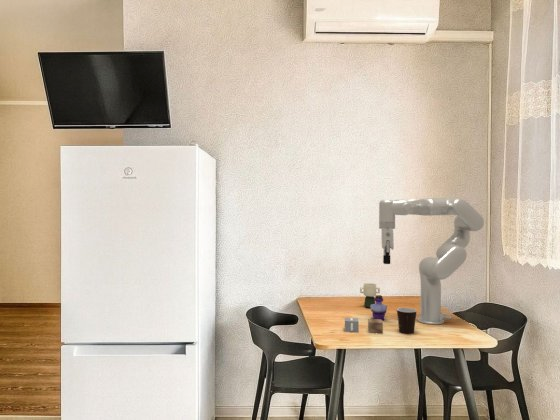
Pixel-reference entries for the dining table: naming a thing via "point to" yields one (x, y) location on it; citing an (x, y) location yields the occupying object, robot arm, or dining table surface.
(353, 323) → the marked slate block
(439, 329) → the dining table surface
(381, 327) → the walnut block
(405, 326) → the coffee mug
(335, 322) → the dining table surface
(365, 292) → the character mug
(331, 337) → the dining table surface
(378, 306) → the potion bottle
